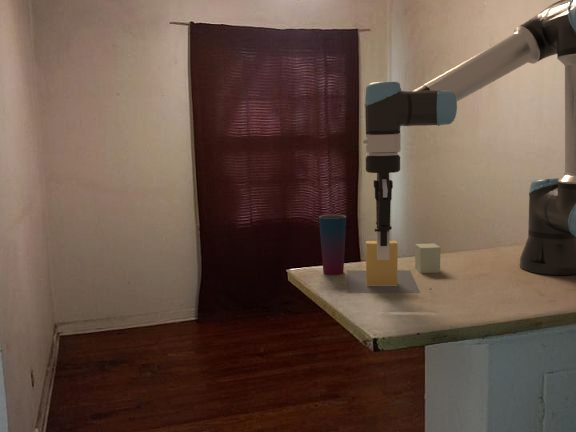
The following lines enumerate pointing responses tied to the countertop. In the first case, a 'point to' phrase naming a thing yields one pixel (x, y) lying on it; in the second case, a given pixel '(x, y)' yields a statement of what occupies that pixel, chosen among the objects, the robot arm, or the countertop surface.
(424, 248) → the sage block
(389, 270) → the ochre slab
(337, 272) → the cup
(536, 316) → the countertop surface
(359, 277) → the mat
